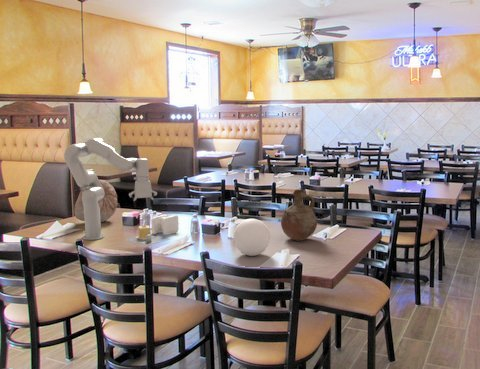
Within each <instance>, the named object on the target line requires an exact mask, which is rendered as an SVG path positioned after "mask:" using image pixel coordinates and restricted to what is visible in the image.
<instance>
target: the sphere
mask: <svg viewBox="0 0 480 369" xmlns="http://www.w3.org/2000/svg"><path fill="white" fill-rule="evenodd" d="M232 239H233V244H234V246H235V248H236V249H237V250H238V251H239V252H240V253H242V255H246V256H248V257H249V256H250V257H255V256H258V255H261V254H262V253H264V252H265V251H266V250H267V248H268V247H269V245H270V242H271V232H270V230H269V228H268V226H267V225H266V224H265V222H263V221H261V220H259V219H257V218H247V219H244V220H242V221H241V222H240V223H238V225H237V226H236V227H235V229H234V231H233V238H232Z"/></svg>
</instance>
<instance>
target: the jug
mask: <svg viewBox="0 0 480 369" xmlns="http://www.w3.org/2000/svg"><path fill="white" fill-rule="evenodd" d="M292 194H293V197H294V199H293V203H292V204H291V205H290V206H288V207H287V208H285V210H284V211H283V213H282V215H281V216H282V217H281V219H280V226H281V229H282V231H283V233H284V234H285V236H286V237H288V238H289V239H290V240H291V239H292V240H291V241H293V240H298V241H297V242H300V241H299V240H304V241H306V240H307V239H308V238H309V237H311V236H312V235H313V234H314V233H315V231H316V229H317V226H318V221H317V217H316V214H315V212H314V210H313V209H314V206H315V198H314V197H313V196H312V195H311V194H307V190H305V189H295V190H294V191H293V193H292ZM304 199H309V200H310V203H309V204H308V205H306V204H304ZM305 239H306V240H305Z"/></svg>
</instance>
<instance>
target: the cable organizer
mask: <svg viewBox="0 0 480 369" xmlns="http://www.w3.org/2000/svg"><path fill="white" fill-rule="evenodd" d="M150 224H151V235H152V234H153V235H155V234H161V233H162V235H164V236H166V235H174V234H177V233H178V232H179V216H178V215H175V214H174V215H170V216H169V215H168V214H165V213H164V214H161V215H157V216H154V217H152V218H151V223H150Z"/></svg>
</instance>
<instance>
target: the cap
mask: <svg viewBox="0 0 480 369" xmlns="http://www.w3.org/2000/svg"><path fill="white" fill-rule="evenodd" d="M146 235H151V227H150V225H140V226H139V225H138V236H139V237H140V238H146Z"/></svg>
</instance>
